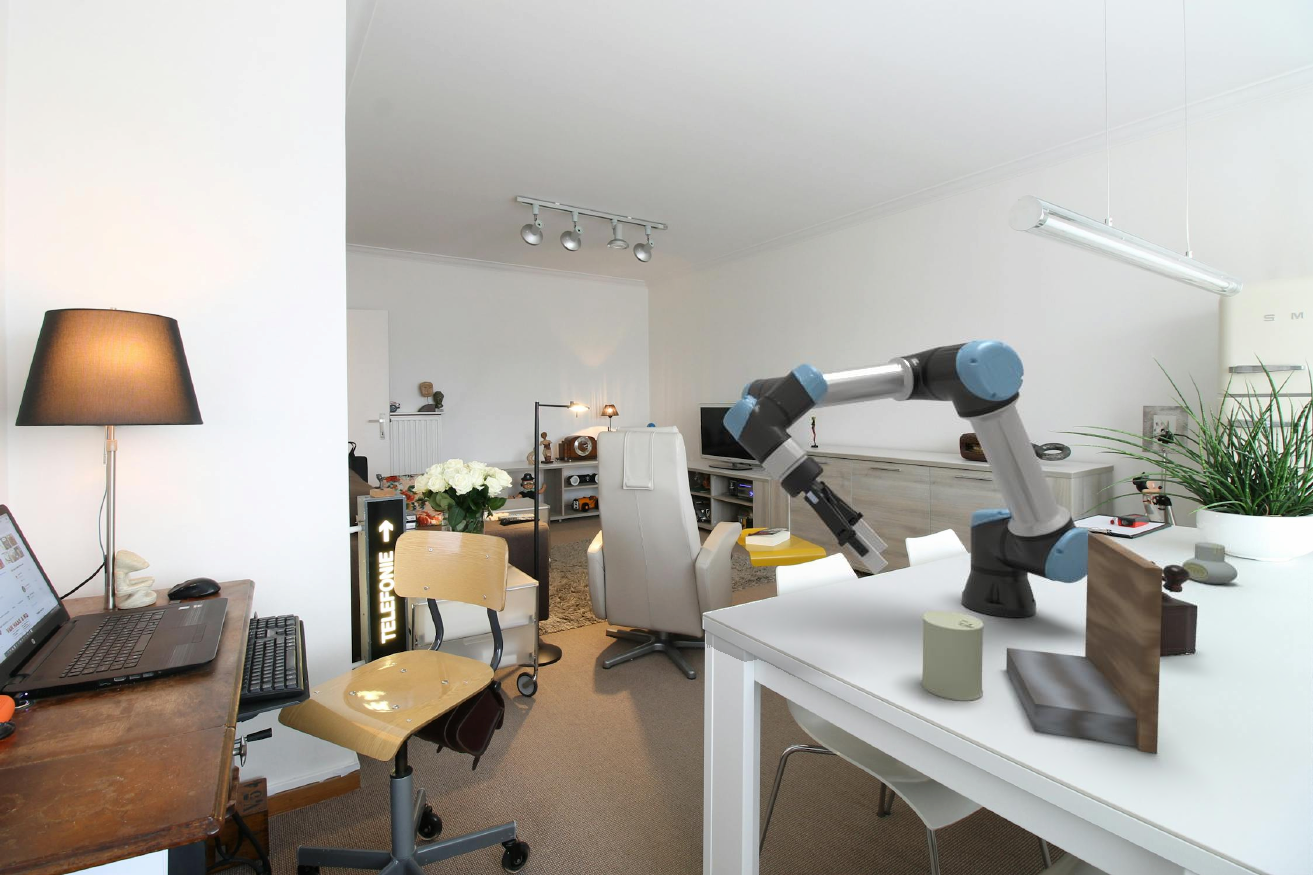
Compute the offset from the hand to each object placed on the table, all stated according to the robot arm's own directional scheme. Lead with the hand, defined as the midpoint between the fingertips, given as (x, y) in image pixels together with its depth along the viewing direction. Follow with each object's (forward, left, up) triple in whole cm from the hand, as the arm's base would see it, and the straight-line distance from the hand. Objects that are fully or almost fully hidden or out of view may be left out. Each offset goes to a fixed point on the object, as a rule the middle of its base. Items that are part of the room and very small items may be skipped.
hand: (881, 559), depth 104 cm
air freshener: (-117, -39, -21) cm, 125 cm away
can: (-10, +5, -21) cm, 24 cm away
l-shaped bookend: (-24, +14, -21) cm, 35 cm away
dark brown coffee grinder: (-59, -2, -21) cm, 62 cm away
